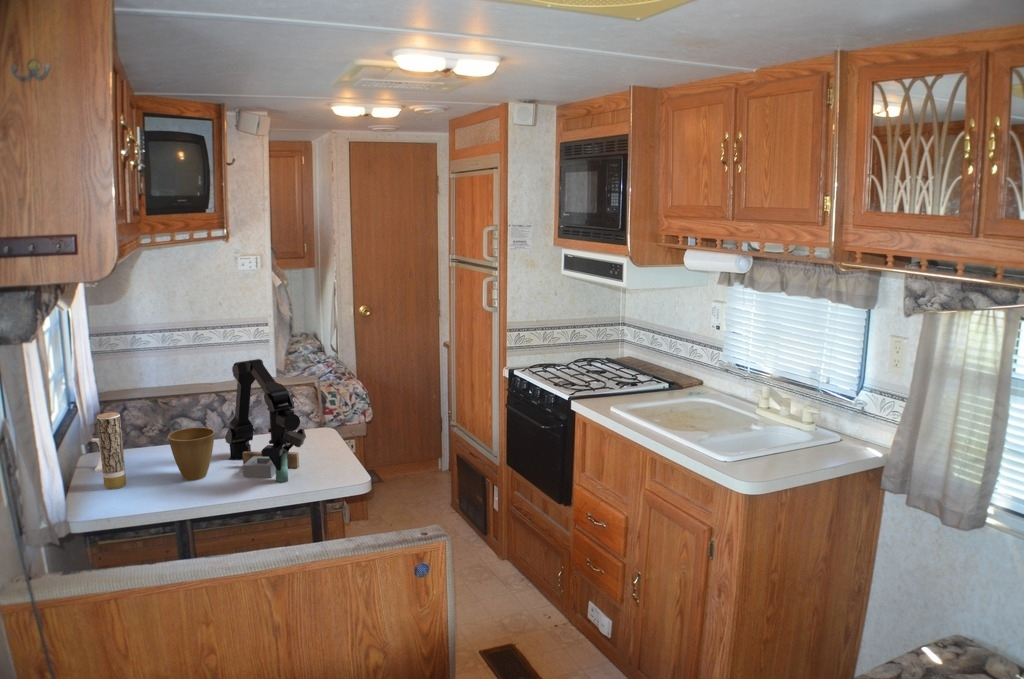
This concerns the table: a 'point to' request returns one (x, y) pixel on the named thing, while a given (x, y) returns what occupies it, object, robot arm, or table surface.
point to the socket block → (259, 468)
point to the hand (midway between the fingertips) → (281, 468)
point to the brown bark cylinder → (111, 450)
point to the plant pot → (192, 451)
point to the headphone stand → (99, 467)
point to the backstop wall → (291, 458)
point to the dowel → (282, 470)
